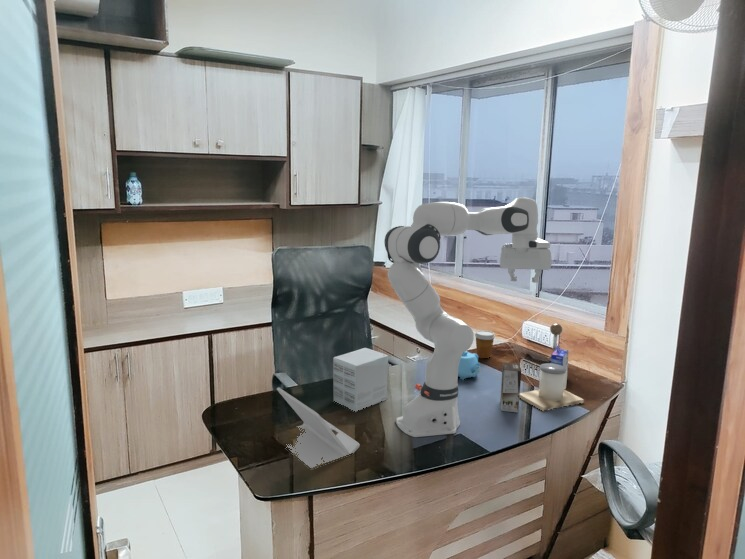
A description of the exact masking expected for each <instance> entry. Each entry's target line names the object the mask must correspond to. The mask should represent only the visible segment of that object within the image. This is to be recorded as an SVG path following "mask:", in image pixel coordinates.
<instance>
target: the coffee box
mask: <svg viewBox="0 0 745 559" xmlns="http://www.w3.org/2000/svg"><path fill="white" fill-rule="evenodd" d="M501 369H502V370H501V382H500V383H501V386H500V387H501V389H500V398H499V399H500V403H499V404H500V410H501V411H502V412H511V413H519V408H520V406H519V404H520V398H519V395H520V393H521V381H522V380H521V379H522V371H523V370H522V368H521V365H520V363H519V362H502V368H501Z"/></svg>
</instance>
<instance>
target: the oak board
mask: <svg viewBox="0 0 745 559" xmlns="http://www.w3.org/2000/svg"><path fill="white" fill-rule="evenodd" d="M538 394H539V389H535V390H534V389H533V390H529V391H524V392H520V395H519V399H520V398H521V399H520V400H522V401H524V402H526V403H528V404H529V405H531V406H532V405H533V407H534V406H535V407H534V408H536V409H537V408H538V410H539V409H540V410H539V411H541V410H542V411H541V412H545V411H544V410H547V411H549V410H548V409H552V408H557V409H559V408H558V407H562V406H567V407H569V406H568V405H571V406H575V405H574V404H576V405H580V404H579V403H581V404H584V399H583V398H582V397H580V396H578V395H575V394H574V393H572V392H570V391H568V390H567V389H564V390H563V399H562V400H560V401H548V400H545V399H542V398H540V397H539V395H538ZM562 408H563V407H562ZM552 410H553V409H552Z"/></svg>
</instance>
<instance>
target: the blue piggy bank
mask: <svg viewBox="0 0 745 559" xmlns="http://www.w3.org/2000/svg"><path fill="white" fill-rule="evenodd" d="M480 367H481V363H480V362H479V357H478V355H477V353H472V352H469V351H468V350H467V351H465V352H464V353H463V354H462V356H461V359H460V362H459V367H458V377H459V380H460V379H465V380H466V379H467V378H471V377H475V378H476V376H477V375H479V373H480Z"/></svg>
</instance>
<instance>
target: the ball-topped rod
mask: <svg viewBox="0 0 745 559" xmlns="http://www.w3.org/2000/svg"><path fill="white" fill-rule="evenodd" d="M549 330H550V333H551V334H552V335H553V343H552V344H553V345H552V350H553V351H555V350H556V347H557V346H558V345H557V344H558V336H559V335H561V334H562V333H563V327H562V325H561V324H559V323H553V324H551V326H550V328H549Z"/></svg>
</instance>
